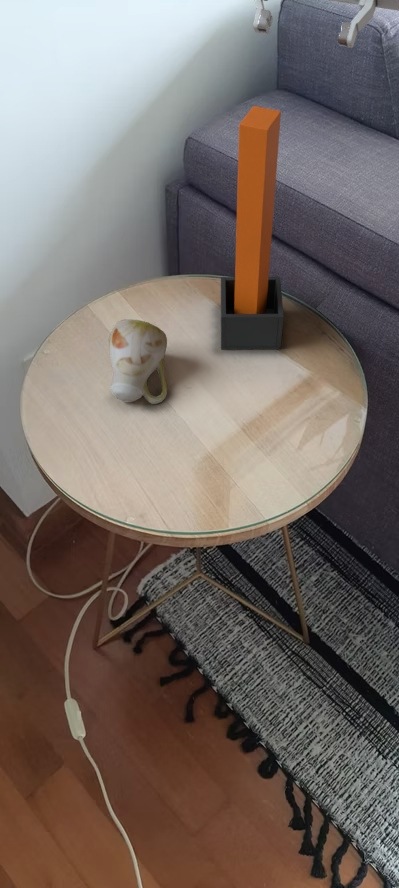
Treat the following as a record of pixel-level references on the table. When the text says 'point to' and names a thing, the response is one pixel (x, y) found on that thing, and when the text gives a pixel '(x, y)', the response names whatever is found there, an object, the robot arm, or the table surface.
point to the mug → (136, 359)
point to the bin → (251, 319)
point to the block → (255, 207)
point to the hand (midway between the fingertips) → (302, 37)
